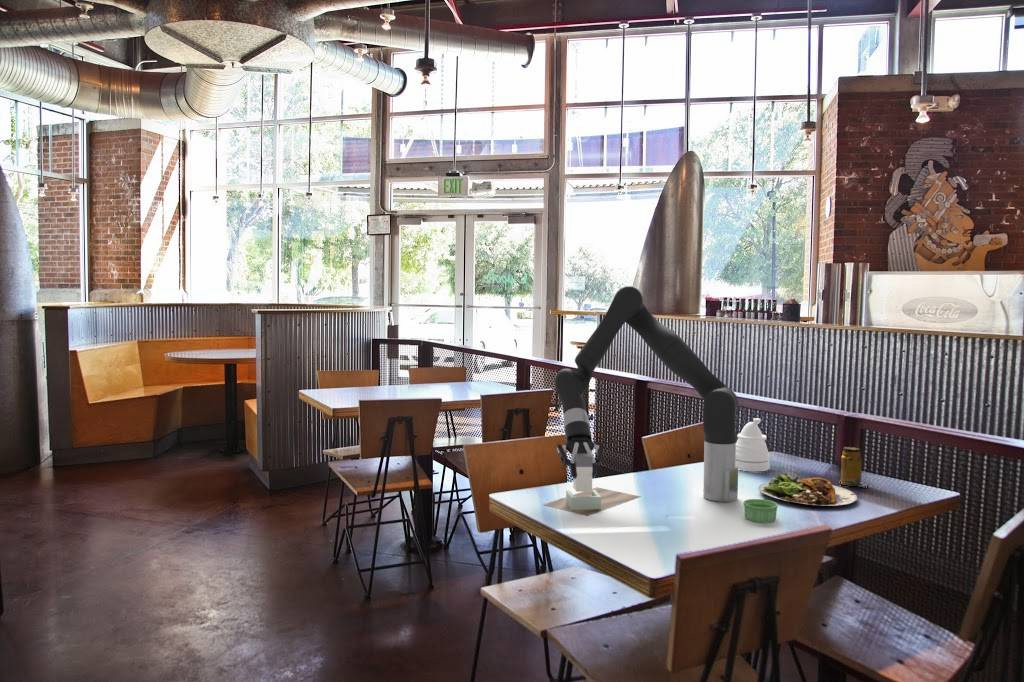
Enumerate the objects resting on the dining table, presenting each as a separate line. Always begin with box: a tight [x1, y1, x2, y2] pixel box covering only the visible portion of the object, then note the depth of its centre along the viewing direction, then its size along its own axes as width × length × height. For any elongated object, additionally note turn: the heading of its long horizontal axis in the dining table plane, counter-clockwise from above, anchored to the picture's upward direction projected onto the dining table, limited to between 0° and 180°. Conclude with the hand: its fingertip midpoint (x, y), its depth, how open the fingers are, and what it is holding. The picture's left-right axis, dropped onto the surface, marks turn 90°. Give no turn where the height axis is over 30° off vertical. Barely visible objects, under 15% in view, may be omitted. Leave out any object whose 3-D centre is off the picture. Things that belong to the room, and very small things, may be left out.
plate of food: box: [758, 472, 858, 507], centre depth 227 cm, size 28×28×6 cm
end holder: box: [565, 489, 601, 510], centre depth 212 cm, size 8×8×4 cm
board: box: [542, 486, 642, 517], centre depth 217 cm, size 16×27×1 cm, turn 138°
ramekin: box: [743, 498, 779, 524], centre depth 204 cm, size 9×9×4 cm
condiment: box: [840, 446, 868, 489], centre depth 242 cm, size 7×8×12 cm
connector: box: [572, 453, 594, 493], centre depth 212 cm, size 4×4×10 cm
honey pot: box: [736, 417, 771, 471], centre depth 265 cm, size 13×13×18 cm
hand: (584, 476), depth 210 cm, fingers closed on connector, 4 cm apart
